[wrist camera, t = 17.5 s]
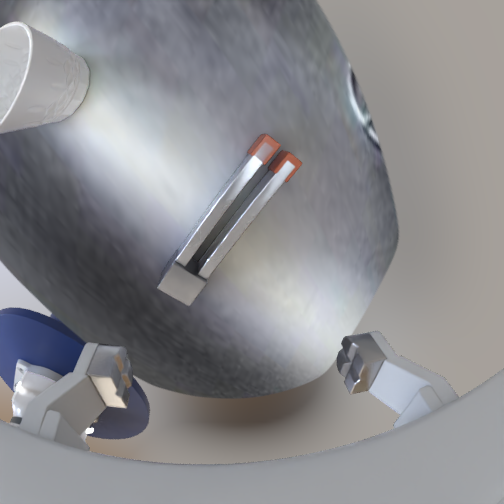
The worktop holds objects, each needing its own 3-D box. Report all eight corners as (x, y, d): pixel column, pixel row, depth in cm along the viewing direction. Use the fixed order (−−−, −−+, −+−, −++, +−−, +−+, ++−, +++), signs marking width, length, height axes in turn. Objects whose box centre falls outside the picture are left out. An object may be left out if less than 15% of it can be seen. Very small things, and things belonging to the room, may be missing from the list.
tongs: (261, 133, 21) (268, 133, 18) (294, 160, 22) (304, 163, 20) (160, 272, 25) (155, 287, 22) (192, 290, 26) (190, 307, 24)
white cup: (96, 117, 18) (28, 115, 9) (30, 138, 17) (-41, 153, 8) (98, 38, 15) (42, 1, 6) (32, 65, 14) (-34, 53, 5)
